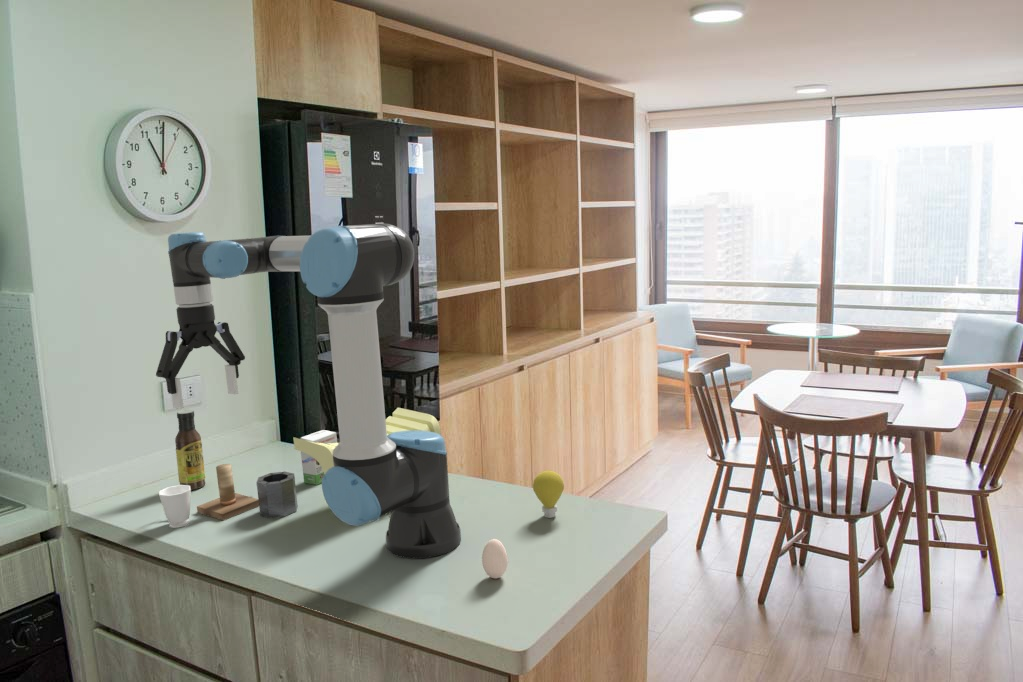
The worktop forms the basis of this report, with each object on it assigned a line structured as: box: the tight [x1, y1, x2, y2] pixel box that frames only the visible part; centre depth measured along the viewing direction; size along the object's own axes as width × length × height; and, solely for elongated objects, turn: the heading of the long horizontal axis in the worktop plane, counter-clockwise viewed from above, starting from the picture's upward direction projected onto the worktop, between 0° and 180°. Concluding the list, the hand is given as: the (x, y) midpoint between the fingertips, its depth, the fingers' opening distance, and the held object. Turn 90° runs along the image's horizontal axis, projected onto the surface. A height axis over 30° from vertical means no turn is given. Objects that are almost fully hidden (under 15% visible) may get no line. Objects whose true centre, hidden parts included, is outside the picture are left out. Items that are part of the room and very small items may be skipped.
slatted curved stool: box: [293, 407, 442, 474], centre depth 187 cm, size 30×16×18 cm, turn 136°
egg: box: [481, 538, 509, 579], centre depth 145 cm, size 5×5×7 cm
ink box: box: [300, 429, 338, 486], centre depth 204 cm, size 8×5×12 cm, turn 147°
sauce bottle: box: [174, 409, 206, 491], centre depth 203 cm, size 6×6×20 cm
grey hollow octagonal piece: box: [256, 471, 298, 519], centre depth 184 cm, size 8×8×8 cm
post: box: [196, 463, 259, 521], centre depth 187 cm, size 10×10×10 cm
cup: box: [158, 484, 192, 529], centre depth 180 cm, size 7×10×8 cm
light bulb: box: [532, 470, 565, 519], centre depth 172 cm, size 7×7×10 cm
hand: (206, 400), depth 176 cm, fingers open, 13 cm apart
